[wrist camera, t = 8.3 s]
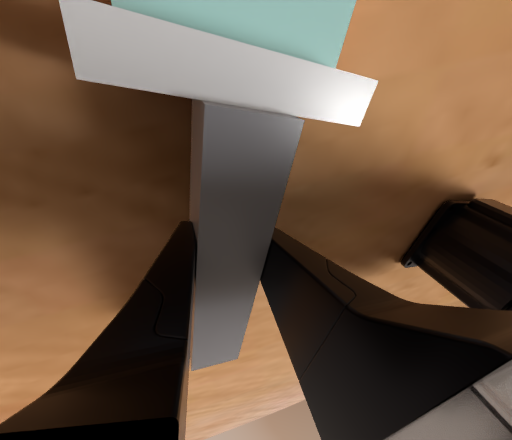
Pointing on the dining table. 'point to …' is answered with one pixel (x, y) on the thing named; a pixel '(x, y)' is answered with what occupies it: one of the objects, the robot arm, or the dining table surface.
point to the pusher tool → (219, 142)
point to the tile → (261, 23)
